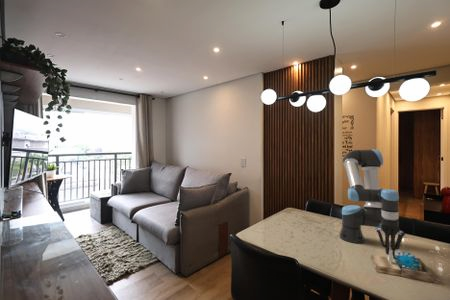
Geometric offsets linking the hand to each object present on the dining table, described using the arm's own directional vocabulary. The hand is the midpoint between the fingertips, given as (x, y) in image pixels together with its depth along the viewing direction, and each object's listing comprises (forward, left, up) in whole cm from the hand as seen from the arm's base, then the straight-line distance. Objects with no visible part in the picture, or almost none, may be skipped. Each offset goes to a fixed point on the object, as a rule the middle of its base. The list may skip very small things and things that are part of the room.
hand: (390, 260), depth 117 cm
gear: (+8, +1, -3) cm, 9 cm away
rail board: (+4, 0, -4) cm, 5 cm away
